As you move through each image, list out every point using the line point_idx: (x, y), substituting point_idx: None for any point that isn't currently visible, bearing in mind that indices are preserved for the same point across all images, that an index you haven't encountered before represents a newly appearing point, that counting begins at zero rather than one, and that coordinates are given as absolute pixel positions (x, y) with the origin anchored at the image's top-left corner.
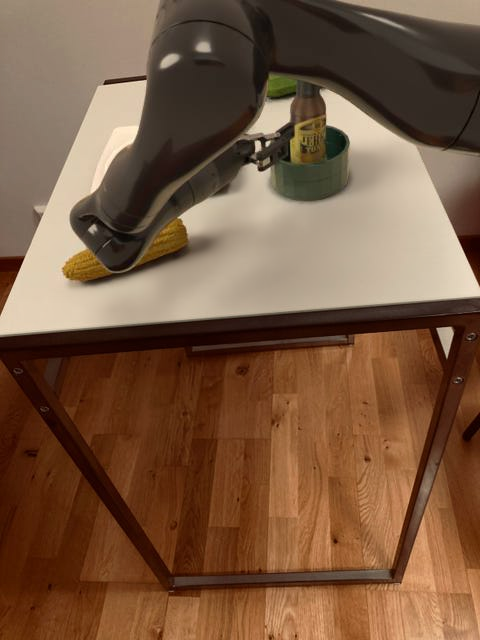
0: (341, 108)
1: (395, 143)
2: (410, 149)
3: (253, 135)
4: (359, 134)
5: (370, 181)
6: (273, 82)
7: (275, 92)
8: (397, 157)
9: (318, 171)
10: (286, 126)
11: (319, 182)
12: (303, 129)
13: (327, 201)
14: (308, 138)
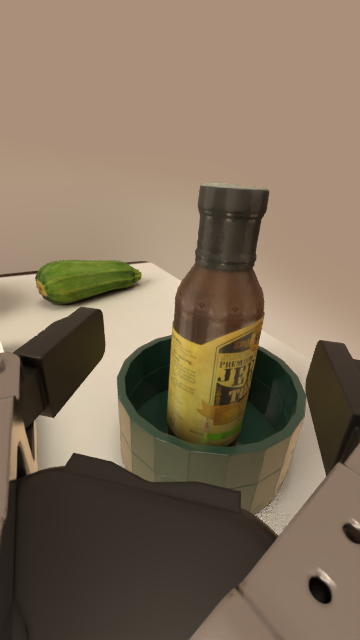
0: (163, 310)
1: (271, 346)
2: (297, 352)
3: (327, 539)
4: None
5: (310, 421)
6: (65, 283)
7: (68, 296)
8: (296, 367)
9: (284, 450)
10: (351, 365)
11: (279, 471)
12: (230, 350)
13: (289, 504)
14: (238, 370)
